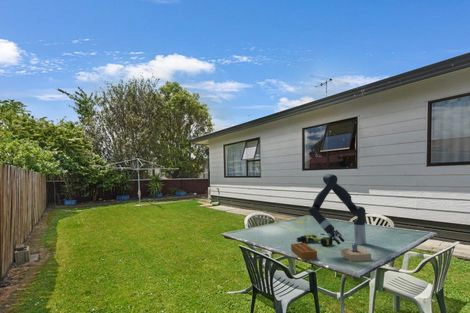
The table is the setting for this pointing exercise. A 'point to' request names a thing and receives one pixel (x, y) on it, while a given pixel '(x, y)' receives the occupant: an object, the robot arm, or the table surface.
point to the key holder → (355, 254)
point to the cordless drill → (315, 239)
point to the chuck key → (354, 247)
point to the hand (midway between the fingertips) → (341, 242)
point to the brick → (304, 251)
